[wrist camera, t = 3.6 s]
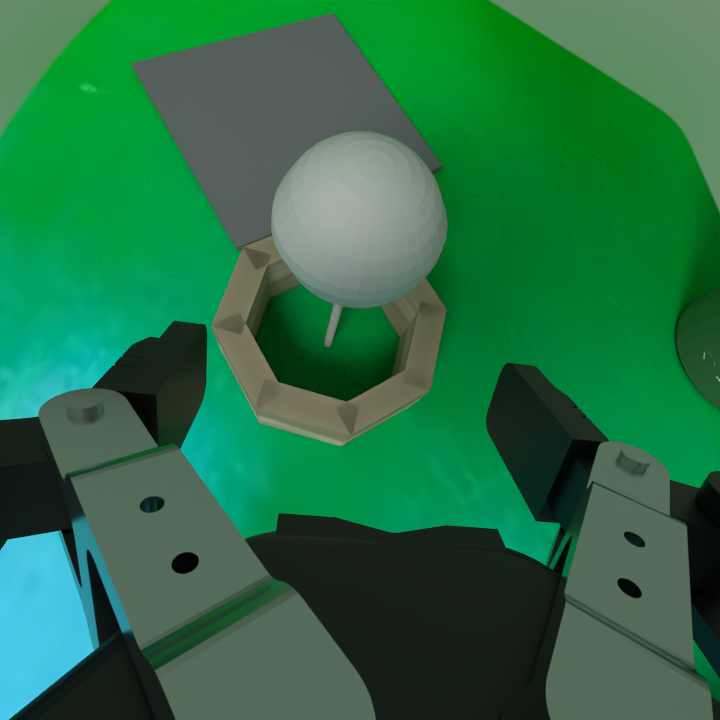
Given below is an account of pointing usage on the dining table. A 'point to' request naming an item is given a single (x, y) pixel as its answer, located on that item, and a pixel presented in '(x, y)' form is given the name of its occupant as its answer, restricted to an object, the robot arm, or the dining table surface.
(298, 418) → the octagonal ring
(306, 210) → the lollipop
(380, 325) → the dining table surface
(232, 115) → the mat
